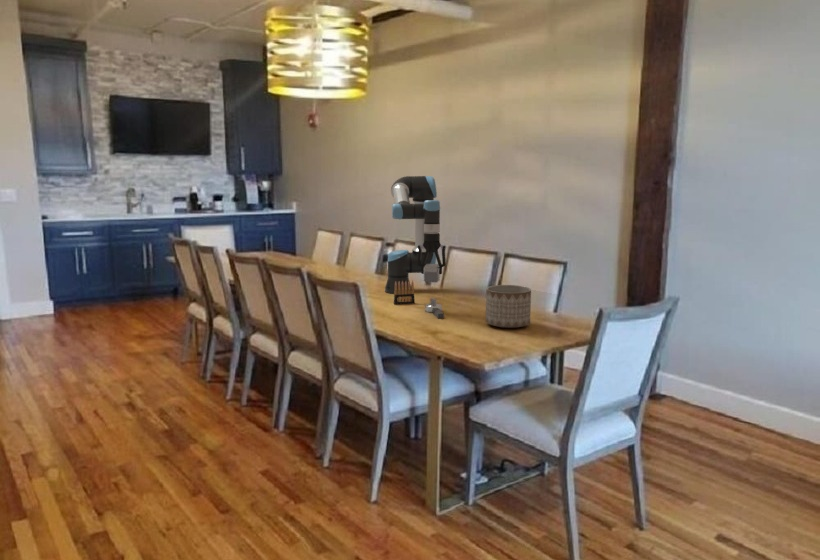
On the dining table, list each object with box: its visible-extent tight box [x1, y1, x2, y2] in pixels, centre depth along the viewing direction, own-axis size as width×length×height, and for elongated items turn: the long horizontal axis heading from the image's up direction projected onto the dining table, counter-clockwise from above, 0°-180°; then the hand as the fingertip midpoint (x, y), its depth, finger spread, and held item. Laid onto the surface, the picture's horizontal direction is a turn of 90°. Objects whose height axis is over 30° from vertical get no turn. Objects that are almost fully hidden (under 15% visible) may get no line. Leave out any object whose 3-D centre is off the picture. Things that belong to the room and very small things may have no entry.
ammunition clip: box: [393, 280, 416, 306], centre depth 317 cm, size 11×2×12 cm, turn 104°
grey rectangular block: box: [424, 263, 439, 283], centre depth 297 cm, size 6×6×8 cm
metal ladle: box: [424, 298, 445, 320], centre depth 294 cm, size 20×8×6 cm, turn 11°
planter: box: [485, 284, 532, 329], centre depth 271 cm, size 19×19×16 cm
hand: (431, 280), depth 298 cm, fingers closed on grey rectangular block, 6 cm apart
